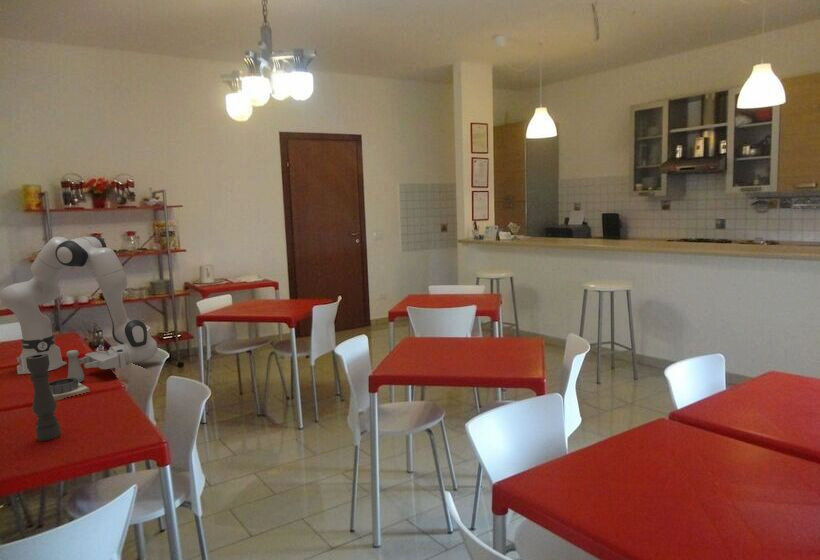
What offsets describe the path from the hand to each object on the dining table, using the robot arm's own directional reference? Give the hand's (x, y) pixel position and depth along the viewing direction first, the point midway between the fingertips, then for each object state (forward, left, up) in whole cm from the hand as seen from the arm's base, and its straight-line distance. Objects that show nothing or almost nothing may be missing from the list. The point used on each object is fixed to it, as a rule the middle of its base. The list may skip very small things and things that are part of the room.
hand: (80, 364), depth 238 cm
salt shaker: (0, -2, -7) cm, 7 cm away
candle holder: (+57, -26, -7) cm, 63 cm away
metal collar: (+12, -10, -5) cm, 17 cm away
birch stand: (+12, -10, -7) cm, 17 cm away
